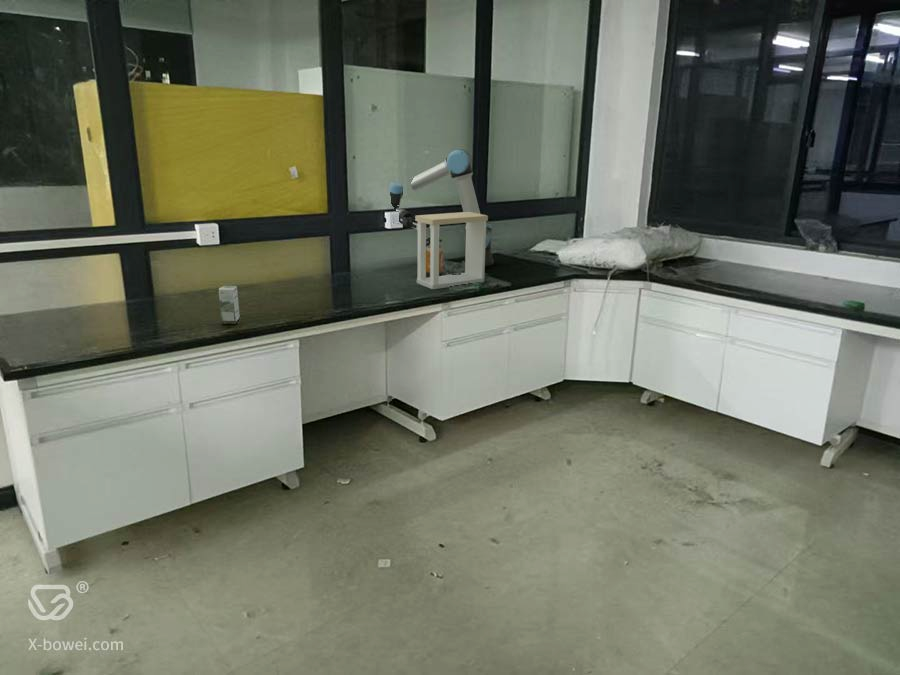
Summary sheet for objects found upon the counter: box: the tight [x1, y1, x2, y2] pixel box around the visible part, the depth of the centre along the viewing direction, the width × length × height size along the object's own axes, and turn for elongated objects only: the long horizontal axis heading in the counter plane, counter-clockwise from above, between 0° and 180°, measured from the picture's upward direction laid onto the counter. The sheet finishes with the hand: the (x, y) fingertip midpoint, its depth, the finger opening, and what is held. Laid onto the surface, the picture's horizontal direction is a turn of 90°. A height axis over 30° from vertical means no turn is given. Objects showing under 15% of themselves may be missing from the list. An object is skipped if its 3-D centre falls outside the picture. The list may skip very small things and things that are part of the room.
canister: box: [426, 236, 444, 277], centre depth 331 cm, size 9×11×20 cm
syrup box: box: [218, 285, 241, 322], centre depth 248 cm, size 6×6×14 cm
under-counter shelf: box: [414, 211, 489, 290], centre depth 315 cm, size 32×16×34 cm, turn 123°
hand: (430, 229), depth 332 cm, fingers open, 13 cm apart
